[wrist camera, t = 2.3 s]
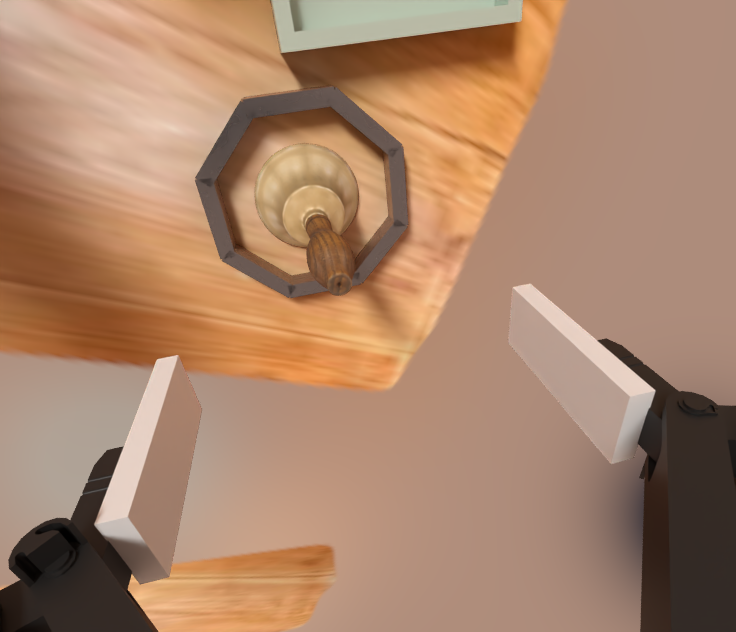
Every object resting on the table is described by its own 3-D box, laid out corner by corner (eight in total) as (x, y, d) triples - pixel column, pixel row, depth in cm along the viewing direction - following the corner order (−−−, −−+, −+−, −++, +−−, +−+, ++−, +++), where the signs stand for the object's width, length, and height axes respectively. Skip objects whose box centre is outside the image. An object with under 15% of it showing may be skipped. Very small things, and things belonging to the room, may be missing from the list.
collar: (237, 298, 38) (236, 308, 36) (176, 106, 29) (171, 109, 28) (405, 266, 39) (411, 274, 38) (392, 76, 31) (398, 77, 30)
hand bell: (328, 122, 32) (373, 168, 19) (374, 216, 36) (437, 308, 23) (233, 176, 33) (210, 258, 19) (289, 262, 37) (303, 378, 24)
